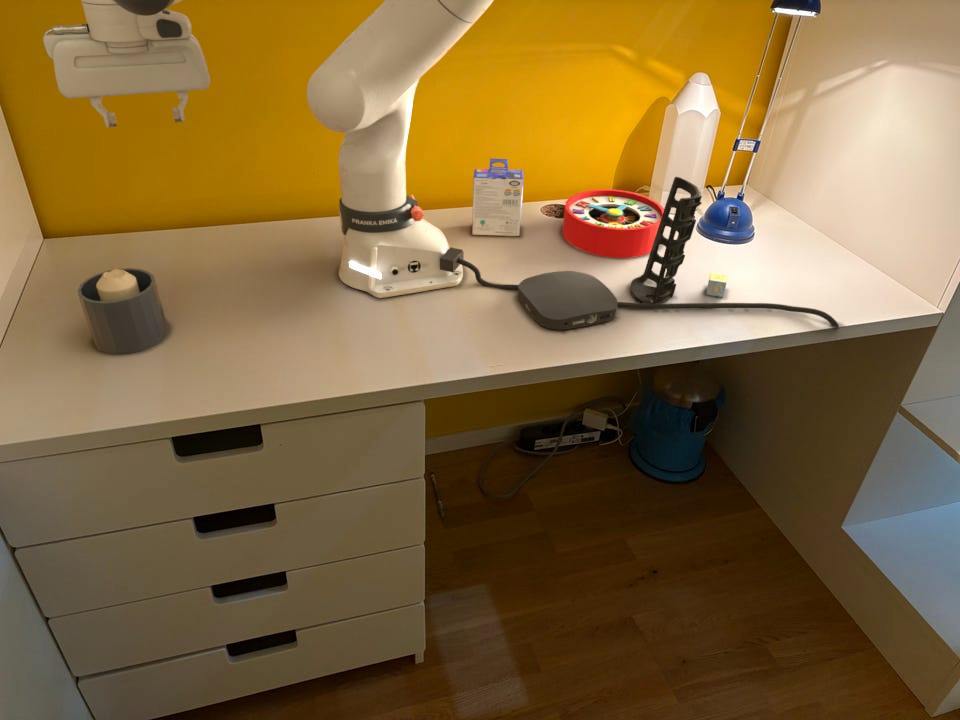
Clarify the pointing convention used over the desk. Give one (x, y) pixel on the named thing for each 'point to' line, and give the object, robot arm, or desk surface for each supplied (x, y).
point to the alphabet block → (716, 285)
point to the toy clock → (611, 222)
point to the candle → (117, 285)
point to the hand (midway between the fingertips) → (146, 123)
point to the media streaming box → (567, 299)
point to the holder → (669, 245)
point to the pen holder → (124, 315)
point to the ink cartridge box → (497, 200)
